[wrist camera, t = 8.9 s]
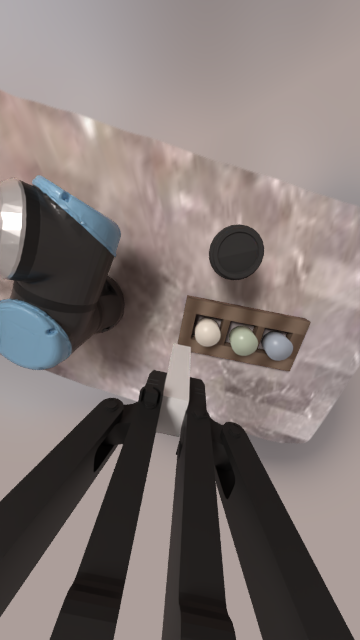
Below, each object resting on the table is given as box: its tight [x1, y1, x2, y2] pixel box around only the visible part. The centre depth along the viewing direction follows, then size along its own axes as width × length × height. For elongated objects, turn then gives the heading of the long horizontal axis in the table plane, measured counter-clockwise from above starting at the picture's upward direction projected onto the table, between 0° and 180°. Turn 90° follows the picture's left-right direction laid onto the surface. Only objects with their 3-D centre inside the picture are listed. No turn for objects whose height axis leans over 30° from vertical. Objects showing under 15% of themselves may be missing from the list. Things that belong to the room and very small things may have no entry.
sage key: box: [229, 326, 258, 356], centre depth 46 cm, size 6×6×4 cm
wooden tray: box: [178, 295, 311, 371], centre depth 50 cm, size 28×13×2 cm, turn 79°
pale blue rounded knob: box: [261, 331, 293, 361], centre depth 47 cm, size 6×6×4 cm
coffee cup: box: [209, 225, 264, 280], centre depth 38 cm, size 8×8×15 cm
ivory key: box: [195, 317, 221, 347], centre depth 47 cm, size 6×6×4 cm
